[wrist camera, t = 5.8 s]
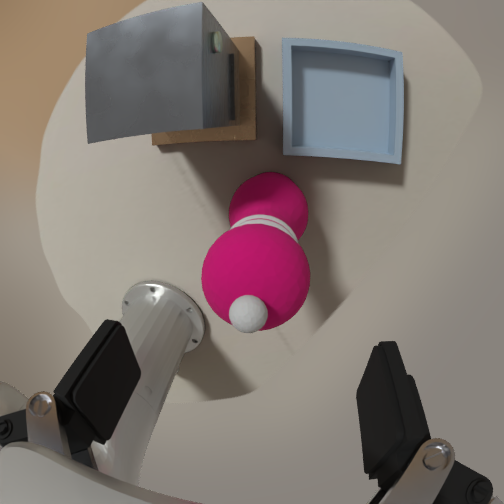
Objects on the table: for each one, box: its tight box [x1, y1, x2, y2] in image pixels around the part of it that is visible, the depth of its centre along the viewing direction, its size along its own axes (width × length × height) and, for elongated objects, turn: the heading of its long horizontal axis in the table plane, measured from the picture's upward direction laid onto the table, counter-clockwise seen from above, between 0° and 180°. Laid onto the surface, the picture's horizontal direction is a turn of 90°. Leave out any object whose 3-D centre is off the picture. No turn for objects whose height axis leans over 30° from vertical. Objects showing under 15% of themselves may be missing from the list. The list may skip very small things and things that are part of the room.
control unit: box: [85, 2, 257, 145], centre depth 19 cm, size 11×11×14 cm
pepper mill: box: [201, 172, 310, 333], centre depth 21 cm, size 7×7×20 cm
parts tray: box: [282, 38, 404, 164], centre depth 23 cm, size 12×12×3 cm
